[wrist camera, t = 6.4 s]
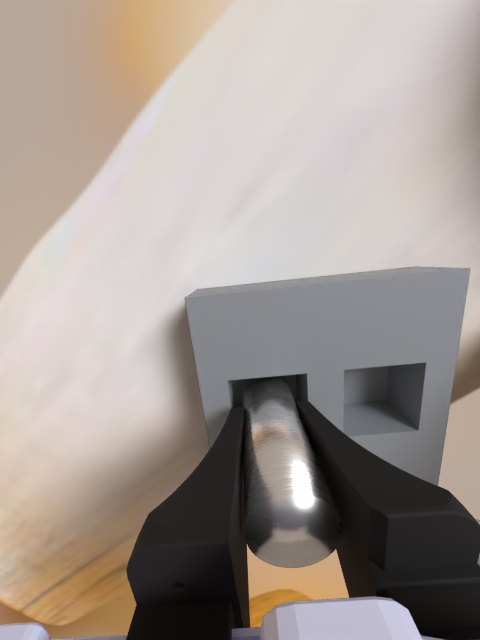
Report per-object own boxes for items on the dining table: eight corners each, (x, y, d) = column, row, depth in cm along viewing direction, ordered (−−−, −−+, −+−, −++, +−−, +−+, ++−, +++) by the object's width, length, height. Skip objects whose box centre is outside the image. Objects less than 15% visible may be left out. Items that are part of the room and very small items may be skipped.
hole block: (416, 266, 14) (470, 268, 11) (399, 447, 18) (436, 491, 14) (197, 289, 15) (184, 297, 11) (223, 462, 18) (219, 507, 15)
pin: (289, 369, 14) (347, 494, 7) (288, 411, 15) (338, 567, 7) (242, 370, 14) (244, 495, 7) (243, 411, 15) (245, 568, 7)
